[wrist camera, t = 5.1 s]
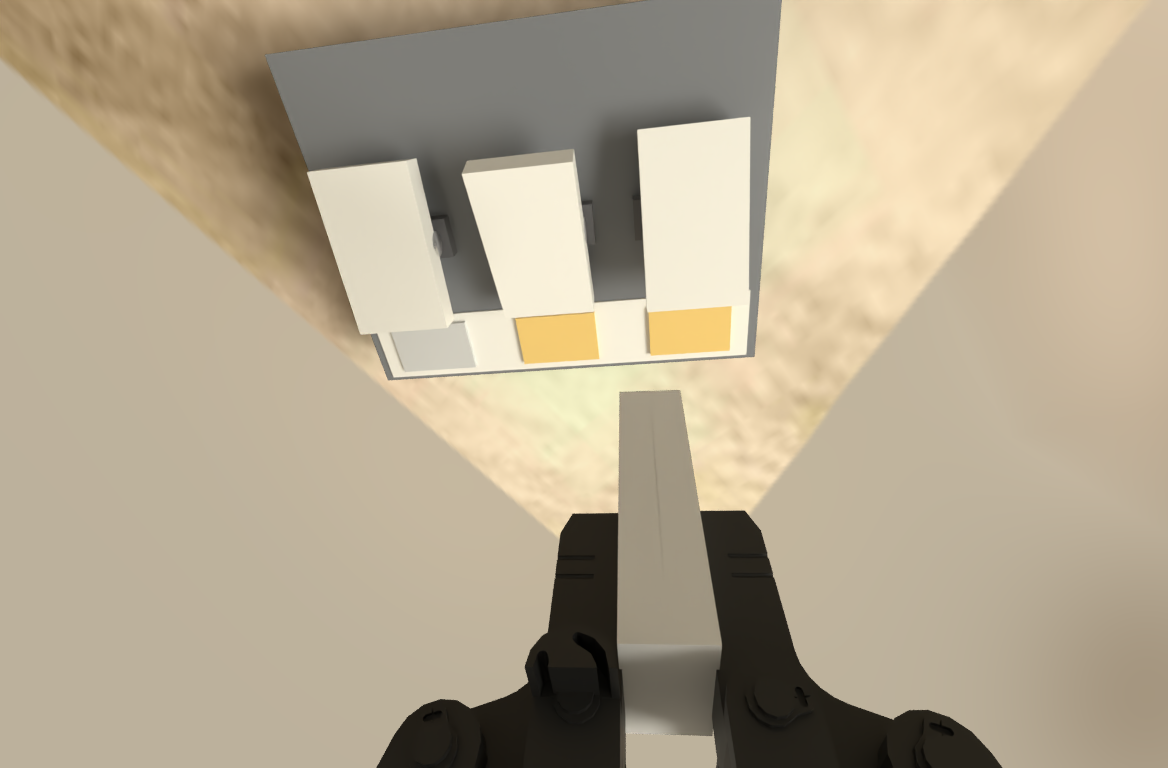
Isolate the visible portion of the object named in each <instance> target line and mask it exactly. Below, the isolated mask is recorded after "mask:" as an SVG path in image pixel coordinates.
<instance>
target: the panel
mask: <svg viewBox="0 0 1168 768" xmlns="http://www.w3.org/2000/svg"><path fill="white" fill-rule="evenodd" d="M781 3H782V0H646V1H639V2H632V3H625V4H618V5H611V6H604V7H597V8H590V9H583V10H576V11H569V12H562V13H555V14H548V15H541V16H534V17H527V18H520V19H512V20H505V21H498V22H491V23H484V24H477V25H470V26H463V27H456V28H449V29H442V30H435V31H428V32H421V33H414V34H407V35H400V36H393V37H386V38H379V39H372V40H365V41H358V42H351V43H344V44H337V45H330V46H323V47H315V48H308V49H301V50H294V51H287V52H280V53H273V54H266V55H265V57H266V60H267V62H268V65H269V68H270V70H271V73H272V75H273V78H274V81H275V83H276V86H277V89H278V91H279V94H280V97H281V99H282V102H283V104H284V107H285V110H286V112H287V115H288V118H289V120H290V123H291V126H292V128H293V131H294V133H295V136H296V139H297V141H298V144H299V147H300V149H301V152H302V155H303V157H304V160H305V163H306V165H307V168H308V170H309V172H310V171H314V170H319V169H326V168H335V167H344V166H353V165H361V164H370V163H379V162H388V161H396V160H405V159H414V158H416V159H417V163H418V167H419V172H420V176H421V180H422V184H423V189H424V193H425V197H426V201H427V206H428V210H429V214H430V218H431V223H432V227H433V231H437V232H438V234H439V236H440V238H441V242H442V254H441V256H440V261H441V265H442V269H443V274H444V278H445V282H446V286H447V290H448V295H449V299H450V303H451V307H452V312H453V316H454V320H453V322H452V323H451V324H450V325H449V327H448V328H442V329H429V330H415V331H402V332H389V333H376V334H371V337H372V339H373V342H374V345H375V347H376V350H377V352H378V355H379V358H380V360H381V363H382V366H383V368H384V371H385V374H386V376H387V379H388V380H401V379H416V378H432V377H447V376H463V375H479V374H494V373H510V372H525V371H541V370H556V369H572V368H587V367H603V366H619V365H634V364H650V363H665V362H681V361H696V360H712V359H727V358H743V357H754V356H755V343H756V330H757V317H758V304H759V291H760V277H761V264H762V251H763V238H764V225H765V212H766V199H767V186H768V173H769V160H770V147H771V134H772V121H773V107H774V94H775V81H776V68H777V55H778V42H779V29H780V16H781ZM744 117H750V221H749V305H740V306H726V307H713V308H700V309H686V310H673V311H660V312H647V304H646V286H645V268H644V250H643V235H642V218H641V196H640V178H639V160H638V142H637V130H639V129H648V128H656V127H665V126H674V125H682V124H691V123H700V122H709V121H717V120H726V119H735V118H744ZM568 149H574V153H575V160H576V168H577V175H578V182H579V189H580V197H581V204H582V211H583V217H585V222H586V231H587V248H588V255H589V262H590V270H591V277H592V284H593V291H594V312H584V313H571V314H558V315H545V316H531V317H518V318H505V315H504V311H503V308H502V305H501V302H500V298H499V295H498V292H497V289H496V285H495V282H494V279H493V275H492V272H491V269H490V266H489V262H488V259H487V256H486V252H485V249H484V246H483V243H482V239H481V236H480V233H479V229H478V226H477V223H476V220H475V216H474V213H473V210H472V206H471V203H470V200H469V197H468V193H467V190H466V187H465V184H464V180H463V177H462V172H463V169H464V167H465V164H466V162H467V161H469V160H478V159H487V158H496V157H505V156H514V155H523V154H532V153H541V152H550V151H559V150H568Z"/></svg>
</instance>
